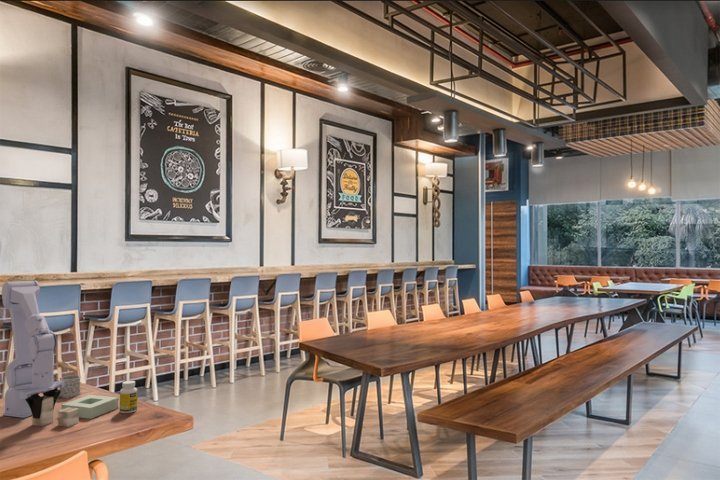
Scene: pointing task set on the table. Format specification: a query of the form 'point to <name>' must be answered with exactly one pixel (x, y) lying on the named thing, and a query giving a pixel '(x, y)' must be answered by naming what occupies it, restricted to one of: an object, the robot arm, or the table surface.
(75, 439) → the table surface
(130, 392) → the supplement bottle
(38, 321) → the robot arm
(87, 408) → the hole block
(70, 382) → the mug
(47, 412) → the tall beige block
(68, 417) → the short pin
